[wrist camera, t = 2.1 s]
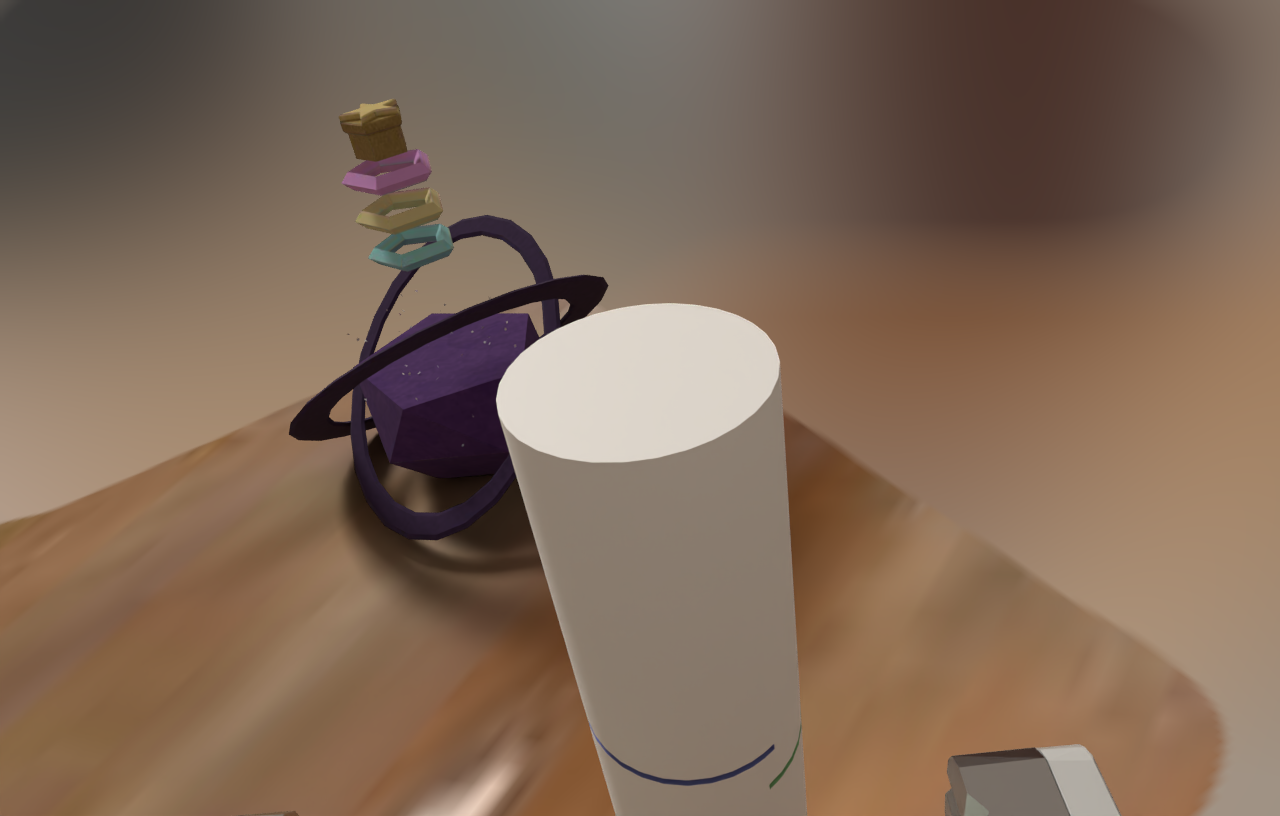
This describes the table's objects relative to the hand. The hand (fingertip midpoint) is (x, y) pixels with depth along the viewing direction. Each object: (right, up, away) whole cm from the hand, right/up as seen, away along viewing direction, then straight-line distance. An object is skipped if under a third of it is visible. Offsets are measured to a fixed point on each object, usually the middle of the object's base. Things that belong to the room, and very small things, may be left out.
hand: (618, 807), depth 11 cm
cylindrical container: (+4, -15, +25) cm, 29 cm away
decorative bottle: (-11, +2, +52) cm, 53 cm away
